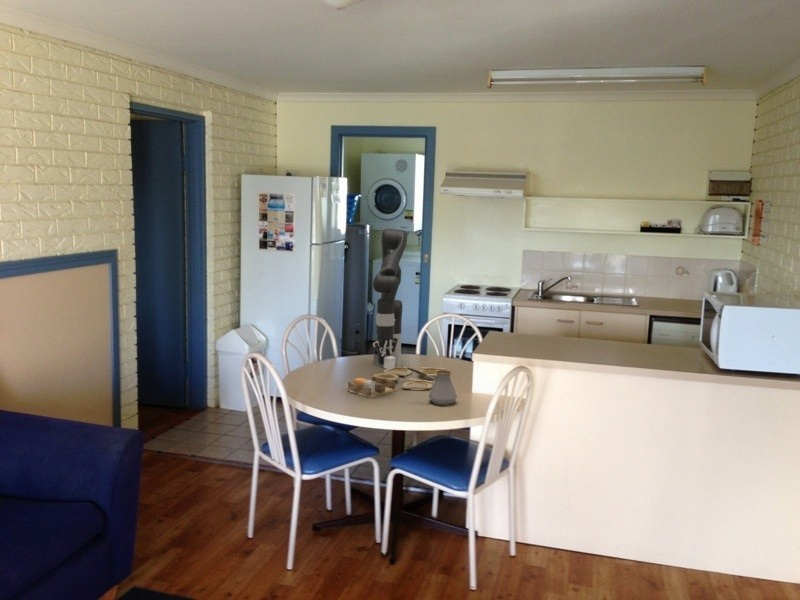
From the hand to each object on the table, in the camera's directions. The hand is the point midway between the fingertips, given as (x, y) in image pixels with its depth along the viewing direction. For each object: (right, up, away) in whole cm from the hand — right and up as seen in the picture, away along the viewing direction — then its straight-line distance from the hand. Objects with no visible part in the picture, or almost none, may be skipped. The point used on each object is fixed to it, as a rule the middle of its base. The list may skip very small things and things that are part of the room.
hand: (384, 363), depth 290 cm
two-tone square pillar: (0, -1, 0) cm, 1 cm away
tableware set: (+10, -11, +28) cm, 31 cm away
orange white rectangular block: (-9, -12, +5) cm, 16 cm away
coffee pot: (+19, -16, -7) cm, 26 cm away
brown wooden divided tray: (-6, -13, +7) cm, 16 cm away
